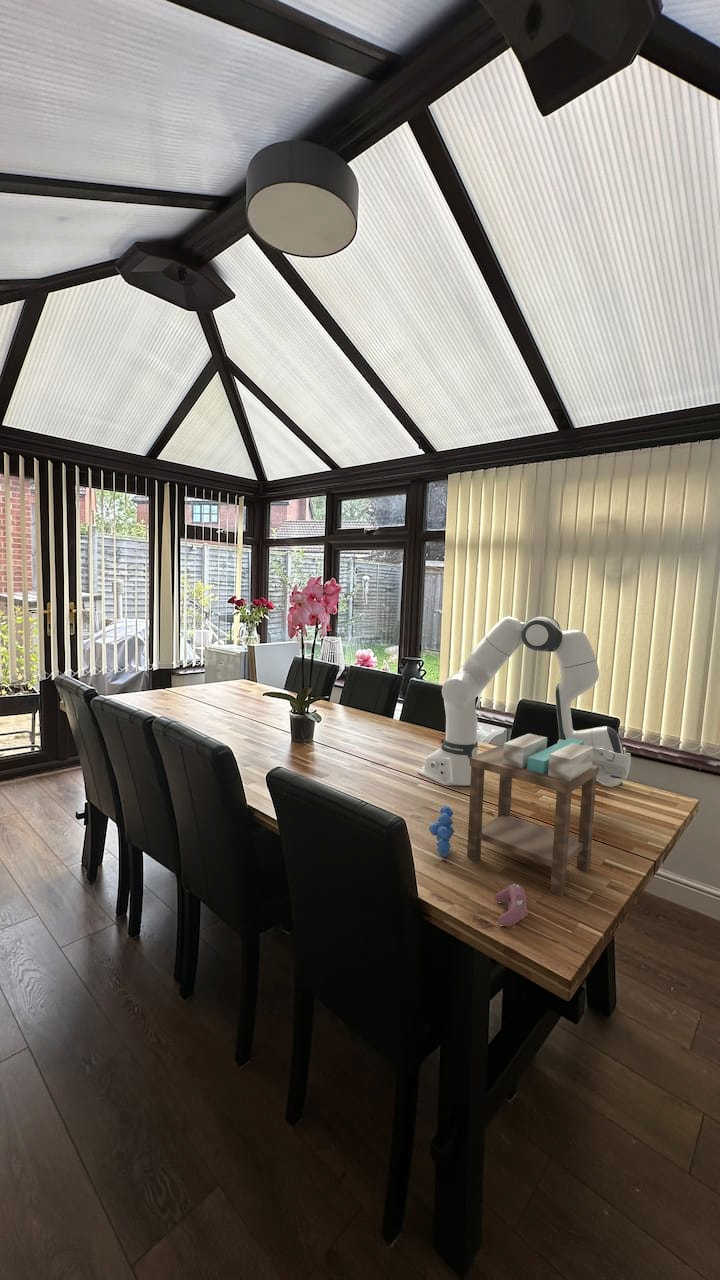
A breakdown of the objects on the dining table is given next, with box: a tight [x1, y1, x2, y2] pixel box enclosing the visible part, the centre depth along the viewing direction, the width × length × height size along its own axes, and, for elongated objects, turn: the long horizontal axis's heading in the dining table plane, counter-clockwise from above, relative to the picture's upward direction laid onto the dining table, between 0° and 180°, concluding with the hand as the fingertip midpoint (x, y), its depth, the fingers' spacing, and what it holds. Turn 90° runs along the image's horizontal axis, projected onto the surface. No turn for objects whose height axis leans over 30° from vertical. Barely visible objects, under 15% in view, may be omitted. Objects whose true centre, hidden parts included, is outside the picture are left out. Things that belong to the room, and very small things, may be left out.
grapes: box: [428, 804, 456, 858], centre depth 137 cm, size 12×7×12 cm, turn 166°
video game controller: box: [494, 882, 528, 927], centre depth 111 cm, size 10×5×7 cm, turn 169°
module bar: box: [527, 738, 584, 774], centre depth 132 cm, size 4×24×3 cm, turn 136°
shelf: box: [466, 733, 599, 897], centre depth 131 cm, size 25×18×31 cm
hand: (584, 746), depth 149 cm, fingers open, 8 cm apart
